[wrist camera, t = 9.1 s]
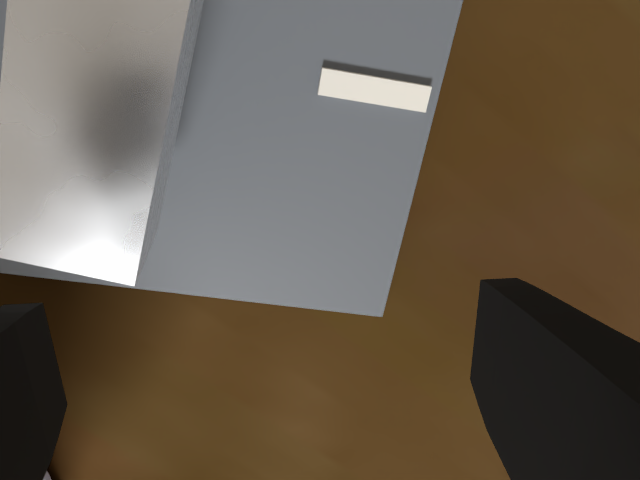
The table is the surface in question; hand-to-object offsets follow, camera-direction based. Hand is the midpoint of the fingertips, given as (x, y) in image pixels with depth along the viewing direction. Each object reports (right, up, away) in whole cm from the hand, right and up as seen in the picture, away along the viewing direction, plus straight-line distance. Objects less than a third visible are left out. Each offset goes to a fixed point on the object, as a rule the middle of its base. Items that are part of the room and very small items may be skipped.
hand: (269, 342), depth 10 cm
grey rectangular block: (-4, +7, +5) cm, 9 cm away
